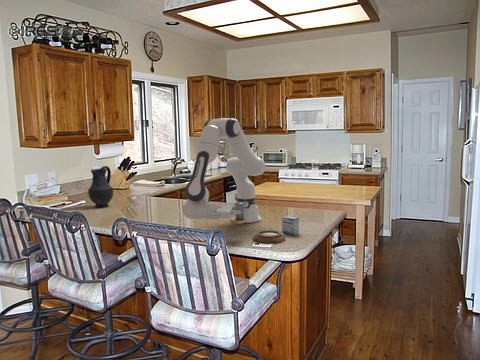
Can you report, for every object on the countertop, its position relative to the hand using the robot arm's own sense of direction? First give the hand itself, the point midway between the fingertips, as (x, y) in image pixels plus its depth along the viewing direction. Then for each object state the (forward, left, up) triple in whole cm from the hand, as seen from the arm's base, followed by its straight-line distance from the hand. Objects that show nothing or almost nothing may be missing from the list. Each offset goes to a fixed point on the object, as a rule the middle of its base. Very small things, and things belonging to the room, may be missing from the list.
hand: (241, 210), depth 205 cm
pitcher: (-88, -113, -15) cm, 144 cm away
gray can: (0, -1, -6) cm, 6 cm away
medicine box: (-12, +25, -15) cm, 31 cm away
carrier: (0, +14, -15) cm, 20 cm away
